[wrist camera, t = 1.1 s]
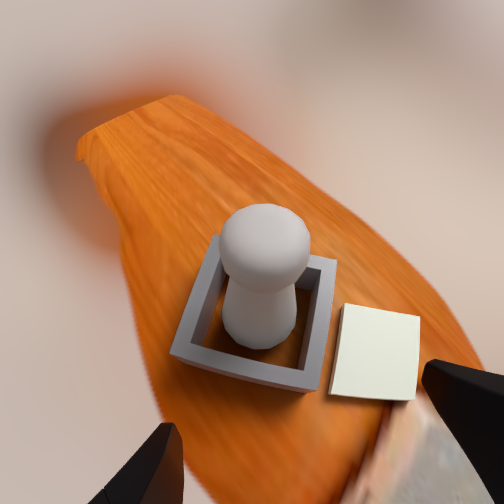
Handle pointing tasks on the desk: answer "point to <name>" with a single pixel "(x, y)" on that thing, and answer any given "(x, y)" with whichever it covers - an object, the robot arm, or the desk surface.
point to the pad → (376, 354)
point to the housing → (300, 380)
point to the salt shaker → (262, 273)
